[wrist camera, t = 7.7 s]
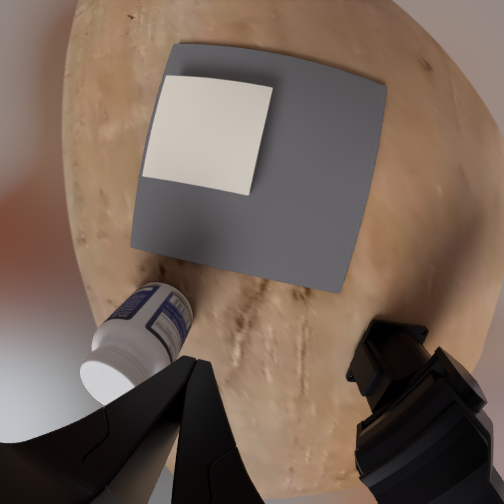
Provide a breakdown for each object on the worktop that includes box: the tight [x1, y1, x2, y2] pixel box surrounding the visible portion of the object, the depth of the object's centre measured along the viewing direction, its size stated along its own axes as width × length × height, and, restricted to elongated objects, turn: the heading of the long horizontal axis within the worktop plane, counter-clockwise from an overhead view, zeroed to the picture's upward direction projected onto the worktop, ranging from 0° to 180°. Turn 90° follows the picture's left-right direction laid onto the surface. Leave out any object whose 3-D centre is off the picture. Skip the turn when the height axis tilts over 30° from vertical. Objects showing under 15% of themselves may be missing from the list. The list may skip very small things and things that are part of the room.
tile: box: [142, 75, 273, 196], centre depth 16 cm, size 2×7×7 cm
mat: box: [130, 44, 387, 294], centre depth 17 cm, size 16×16×1 cm
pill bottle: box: [80, 282, 193, 405], centre depth 16 cm, size 5×5×10 cm
